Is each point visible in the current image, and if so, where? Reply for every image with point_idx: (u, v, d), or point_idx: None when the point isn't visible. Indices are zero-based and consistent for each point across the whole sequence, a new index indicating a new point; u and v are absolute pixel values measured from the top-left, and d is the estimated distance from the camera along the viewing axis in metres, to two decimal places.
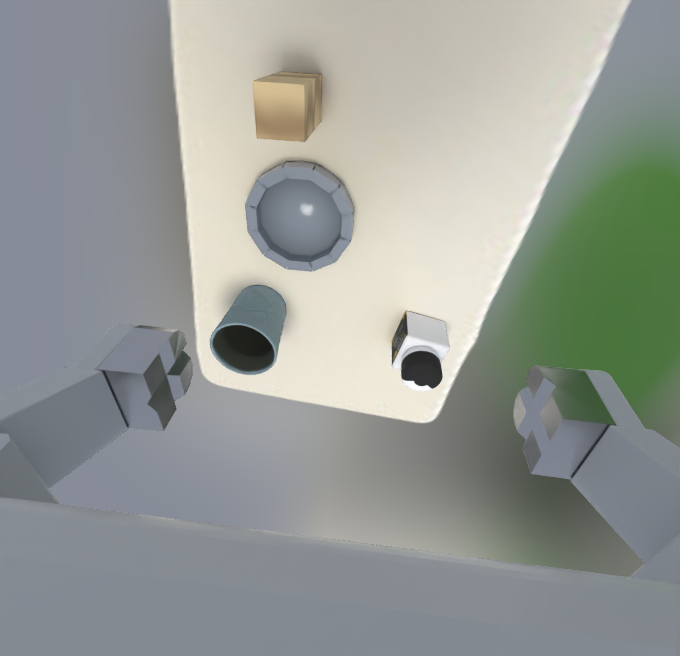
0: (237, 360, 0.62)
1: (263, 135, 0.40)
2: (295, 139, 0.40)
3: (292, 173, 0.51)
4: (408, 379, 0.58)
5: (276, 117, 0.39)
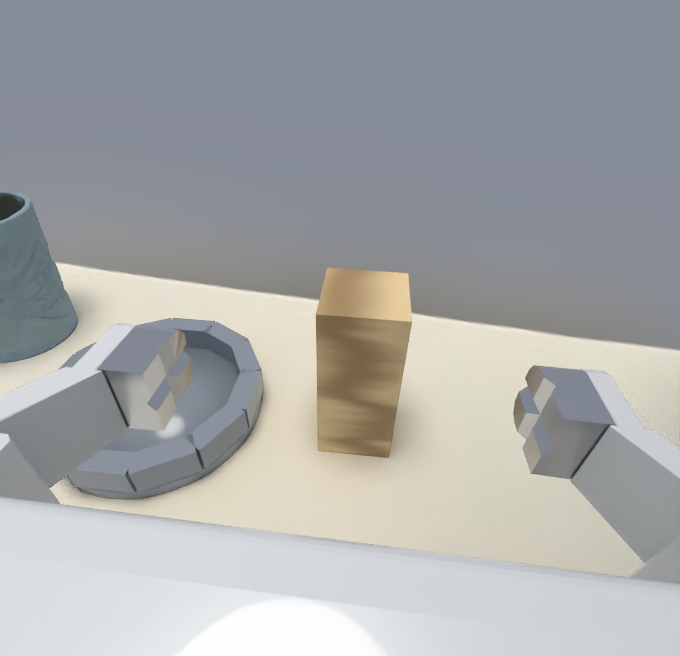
0: None
1: (331, 273, 0.24)
2: (321, 304, 0.21)
3: (245, 380, 0.29)
4: None
5: (358, 288, 0.23)
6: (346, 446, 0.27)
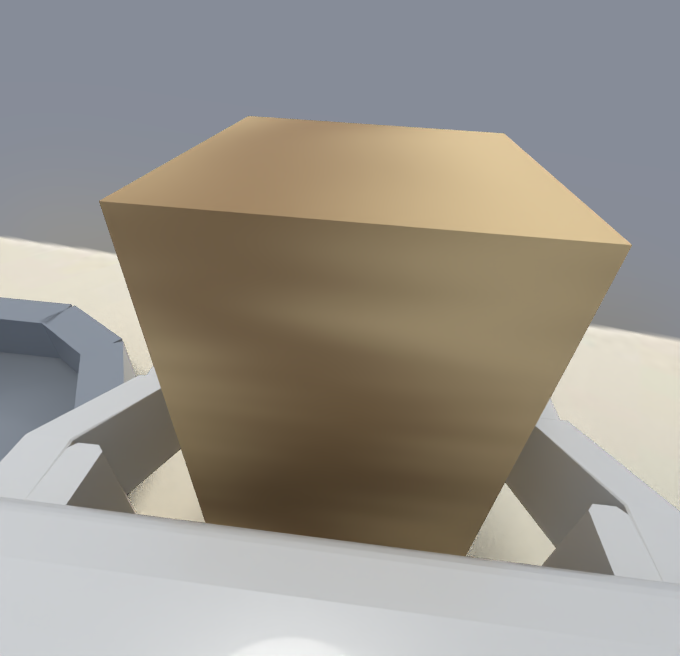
0: None
1: (253, 123, 0.07)
2: (161, 176, 0.05)
3: None
4: None
5: (340, 148, 0.06)
6: None
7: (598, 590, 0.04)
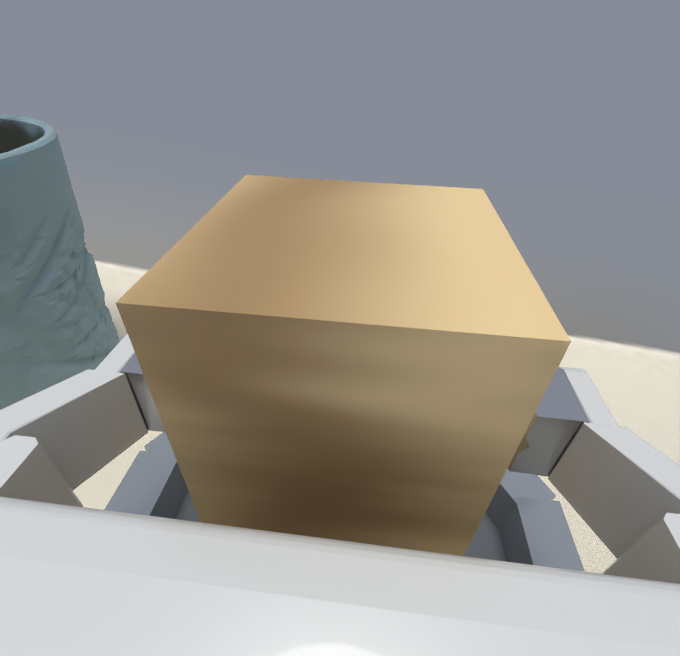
0: None
1: (250, 186, 0.08)
2: (167, 265, 0.05)
3: (545, 532, 0.13)
4: None
5: (328, 219, 0.07)
6: None
7: (598, 590, 0.04)
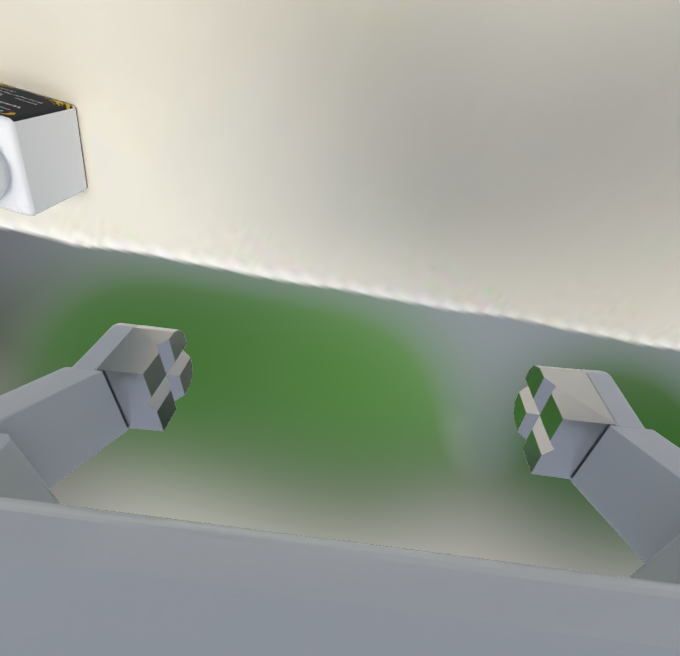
0: None
1: None
2: None
3: None
4: None
5: None
6: None
7: (598, 590, 0.04)
